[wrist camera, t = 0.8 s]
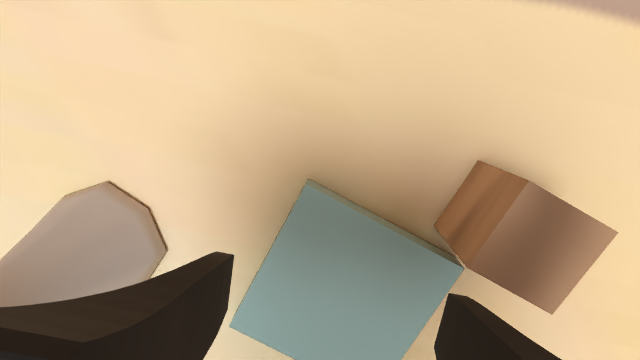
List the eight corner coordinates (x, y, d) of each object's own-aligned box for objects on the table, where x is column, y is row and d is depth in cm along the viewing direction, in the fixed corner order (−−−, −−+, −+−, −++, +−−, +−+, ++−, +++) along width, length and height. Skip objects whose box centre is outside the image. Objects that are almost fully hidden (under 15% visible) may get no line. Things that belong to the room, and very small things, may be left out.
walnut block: (544, 198, 20) (618, 232, 15) (497, 261, 21) (552, 314, 16) (477, 160, 20) (528, 180, 15) (434, 225, 21) (467, 267, 16)
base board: (455, 257, 21) (464, 268, 20) (371, 380, 23) (373, 398, 22) (308, 178, 21) (306, 184, 19) (235, 312, 23) (229, 326, 21)
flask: (188, 252, 22) (69, 370, 12) (107, 312, 23) (-61, 462, 13) (110, 159, 21) (-89, 207, 11) (29, 226, 22) (-214, 322, 12)
